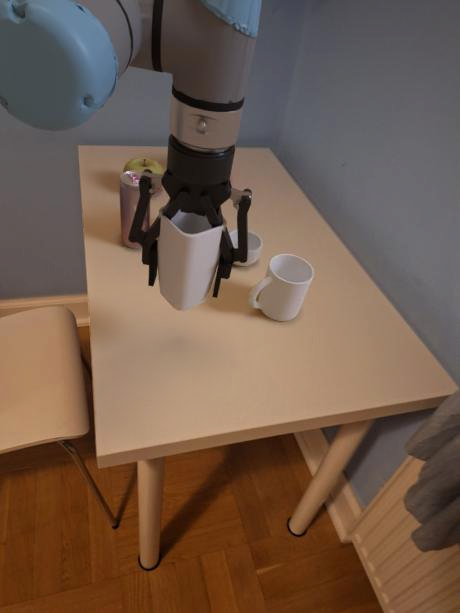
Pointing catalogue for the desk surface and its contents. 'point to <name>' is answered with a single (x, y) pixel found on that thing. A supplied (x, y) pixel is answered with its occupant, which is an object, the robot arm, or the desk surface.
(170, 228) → the cup
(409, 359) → the desk surface
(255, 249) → the teacup
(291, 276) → the mug
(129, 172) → the beverage can
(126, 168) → the apple
